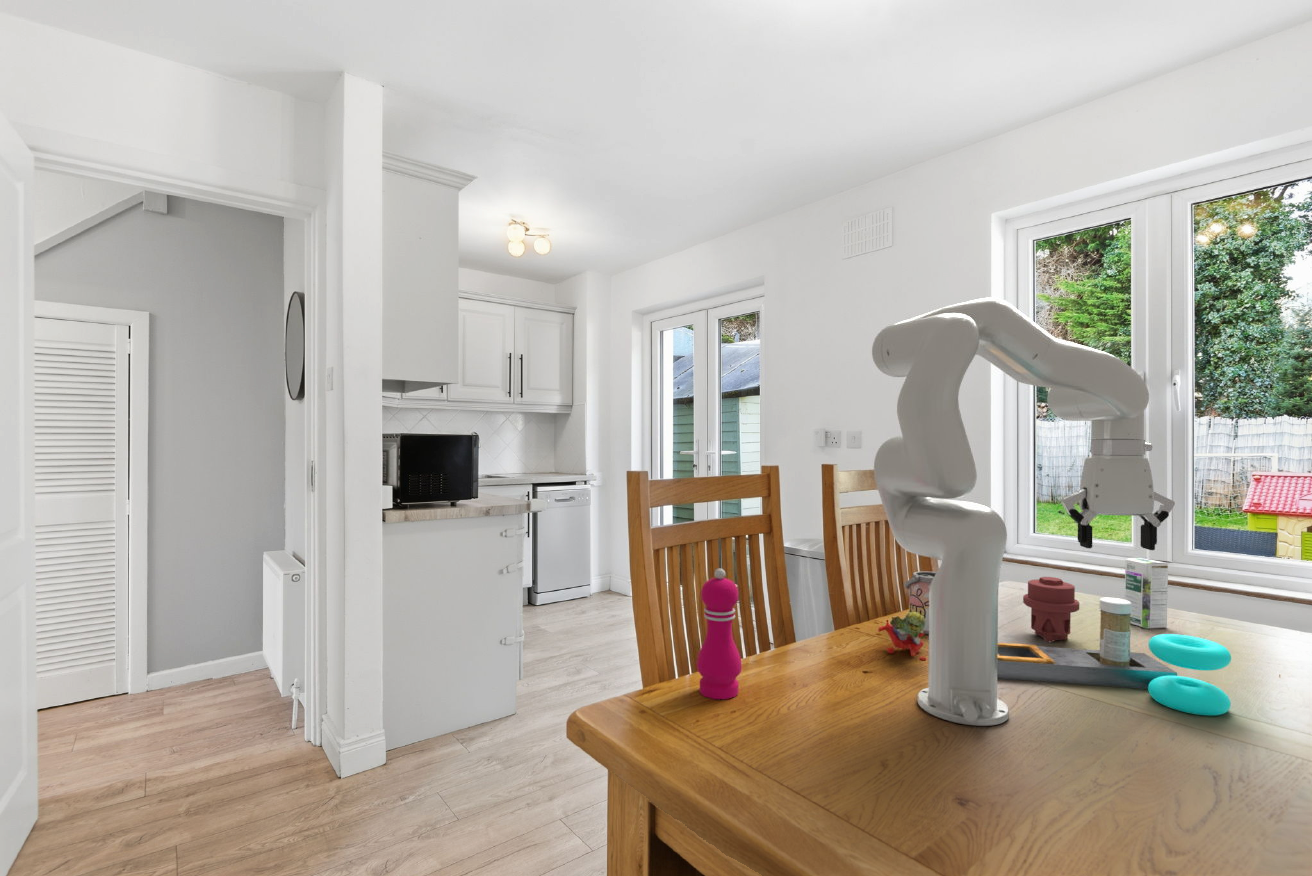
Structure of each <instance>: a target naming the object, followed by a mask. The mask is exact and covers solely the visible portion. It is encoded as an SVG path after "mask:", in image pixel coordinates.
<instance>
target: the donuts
mask: <svg viewBox="0 0 1312 876" xmlns="http://www.w3.org/2000/svg"><path fill="white" fill-rule="evenodd" d="M1148 648H1149V650H1150V652H1151V653H1152V655H1154V657H1156V658H1158V659H1159V660H1160V661H1162V662H1164V663H1167V664H1169V665H1172V666H1175V667H1177V668H1178V667H1179V668H1184V669H1186V670H1187V669H1189V670H1194V671H1217V670H1221V669H1224V668H1226V667H1227V666H1229V665H1230V663H1231V661H1232V654H1231V653H1230V651H1229V650H1228V649H1227V648H1226V647H1225V646H1224V645H1222V644H1220V643H1218V642H1216V641H1212V640H1210V639H1206V638H1201V637H1197V636H1193V635H1186V634H1177V633H1162V634H1156V635H1154V636H1152V637H1151V638H1150V639H1149V641H1148ZM1147 691H1148V693H1149V695H1150V696H1151V698H1152V699H1154V700H1155V701H1156V702H1157V703H1159V704H1161V705H1163V706H1165V707H1167V708H1170V709H1172V710H1176V711H1179V712H1182V713H1183V712H1184V713H1186V714H1187V713H1188V714H1192V715H1193V714H1194V715H1196V716H1197V715H1198V716H1210V717H1211V716H1221V715H1224V714H1225V713H1228V712H1229V710H1230V709H1231V704H1232V703H1231V699H1230V698H1229V696H1228V695H1227V694H1226V693H1225V692H1224V690H1222V689H1221V688H1219V687H1217V686H1216V685H1214V684H1212V683H1210V682H1206V681H1204V680H1200V679H1198V678H1194V677H1188V676H1184V675H1183V676H1181V675H1177V676H1161V677H1157V678H1155V679H1153V680H1152V681H1151V682H1150V683H1149V686H1148V689H1147Z"/></svg>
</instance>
